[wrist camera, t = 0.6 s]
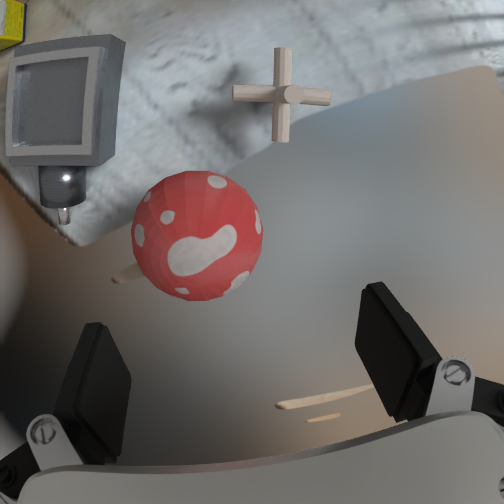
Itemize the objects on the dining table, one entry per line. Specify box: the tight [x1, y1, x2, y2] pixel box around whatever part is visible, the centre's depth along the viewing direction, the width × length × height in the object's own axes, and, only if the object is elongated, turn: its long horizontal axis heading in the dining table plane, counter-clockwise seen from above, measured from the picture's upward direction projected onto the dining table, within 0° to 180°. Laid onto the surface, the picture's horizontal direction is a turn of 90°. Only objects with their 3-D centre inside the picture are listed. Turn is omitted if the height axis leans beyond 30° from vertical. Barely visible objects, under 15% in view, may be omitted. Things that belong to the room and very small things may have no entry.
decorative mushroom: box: [131, 171, 263, 301], centre depth 33 cm, size 13×13×15 cm
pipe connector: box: [232, 48, 331, 142], centre depth 30 cm, size 10×10×10 cm
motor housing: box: [5, 34, 126, 225], centre depth 29 cm, size 22×12×8 cm, turn 172°
